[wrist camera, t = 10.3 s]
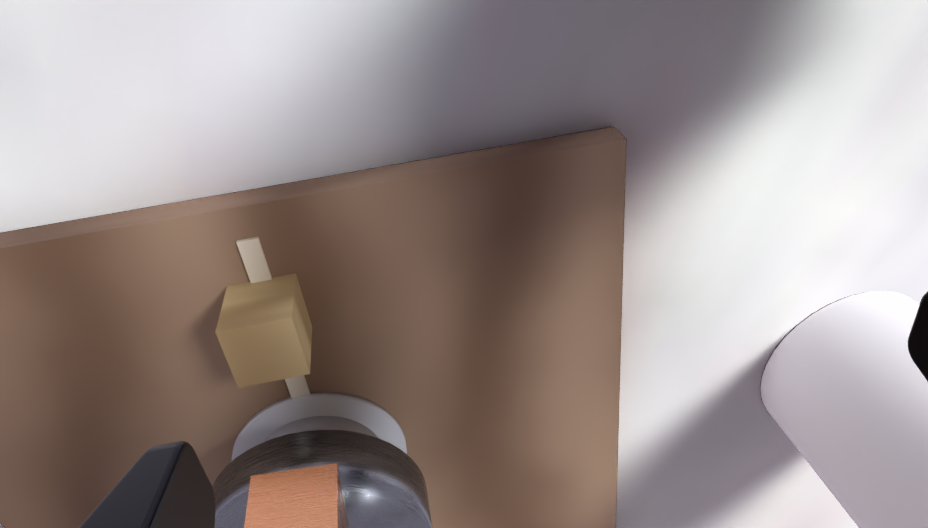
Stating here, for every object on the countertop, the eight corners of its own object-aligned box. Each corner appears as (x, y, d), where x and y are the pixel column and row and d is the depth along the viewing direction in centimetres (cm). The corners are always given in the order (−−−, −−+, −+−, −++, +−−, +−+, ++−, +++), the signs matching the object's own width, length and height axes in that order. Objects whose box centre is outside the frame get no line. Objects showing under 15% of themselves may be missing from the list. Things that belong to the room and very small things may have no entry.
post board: (613, 126, 19) (658, 169, 17) (607, 534, 30) (633, 599, 28) (-170, 262, 18) (-260, 334, 15) (123, 643, 28) (102, 724, 26)
